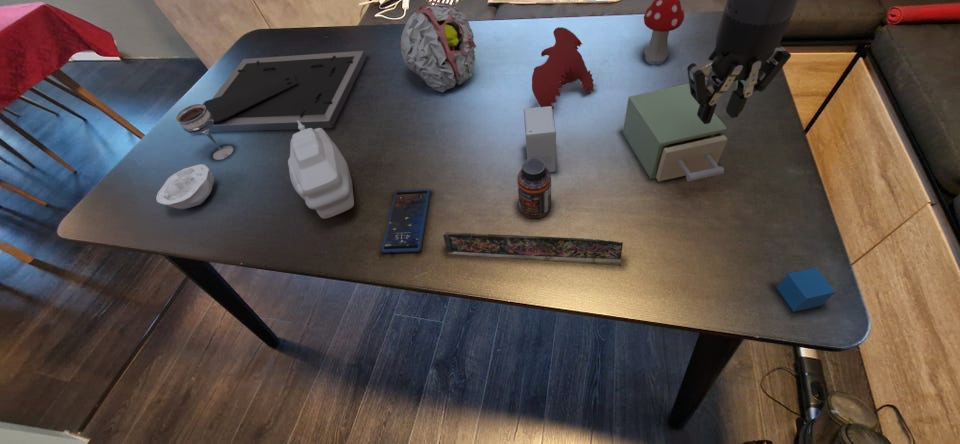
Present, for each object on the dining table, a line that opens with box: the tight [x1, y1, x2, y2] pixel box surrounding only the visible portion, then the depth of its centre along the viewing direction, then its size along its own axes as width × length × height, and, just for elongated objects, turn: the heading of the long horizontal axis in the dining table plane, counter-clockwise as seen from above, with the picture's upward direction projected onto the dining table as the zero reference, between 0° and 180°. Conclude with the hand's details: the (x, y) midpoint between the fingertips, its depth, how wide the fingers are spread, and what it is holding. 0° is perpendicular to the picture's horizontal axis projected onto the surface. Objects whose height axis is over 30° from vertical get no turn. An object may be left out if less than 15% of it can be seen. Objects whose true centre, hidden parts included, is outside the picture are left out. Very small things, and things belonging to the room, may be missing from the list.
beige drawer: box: [655, 134, 728, 182], centre depth 79 cm, size 18×11×7 cm, turn 10°
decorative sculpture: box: [399, 0, 477, 93], centre depth 107 cm, size 19×21×20 cm
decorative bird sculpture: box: [531, 26, 594, 110], centre depth 99 cm, size 28×9×15 cm
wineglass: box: [175, 103, 234, 161], centre depth 100 cm, size 7×7×12 cm
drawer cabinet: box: [622, 83, 728, 180], centre depth 82 cm, size 14×12×9 cm
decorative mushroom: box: [643, 0, 685, 66], centre depth 99 cm, size 10×9×15 cm
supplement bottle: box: [516, 158, 552, 219], centre depth 76 cm, size 6×6×11 cm
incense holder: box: [442, 231, 624, 266], centre depth 72 cm, size 30×1×5 cm, turn 81°
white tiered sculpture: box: [287, 120, 355, 220], centre depth 83 cm, size 11×18×16 cm, turn 24°
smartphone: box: [380, 189, 431, 254], centre depth 83 cm, size 8×1×15 cm
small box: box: [523, 105, 557, 173], centre depth 84 cm, size 8×6×10 cm
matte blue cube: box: [776, 267, 836, 313], centre depth 62 cm, size 4×4×4 cm
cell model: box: [155, 163, 215, 210], centre depth 93 cm, size 10×12×7 cm
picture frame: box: [202, 50, 367, 134], centre depth 116 cm, size 31×4×39 cm
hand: (717, 117), depth 66 cm, fingers open, 3 cm apart
